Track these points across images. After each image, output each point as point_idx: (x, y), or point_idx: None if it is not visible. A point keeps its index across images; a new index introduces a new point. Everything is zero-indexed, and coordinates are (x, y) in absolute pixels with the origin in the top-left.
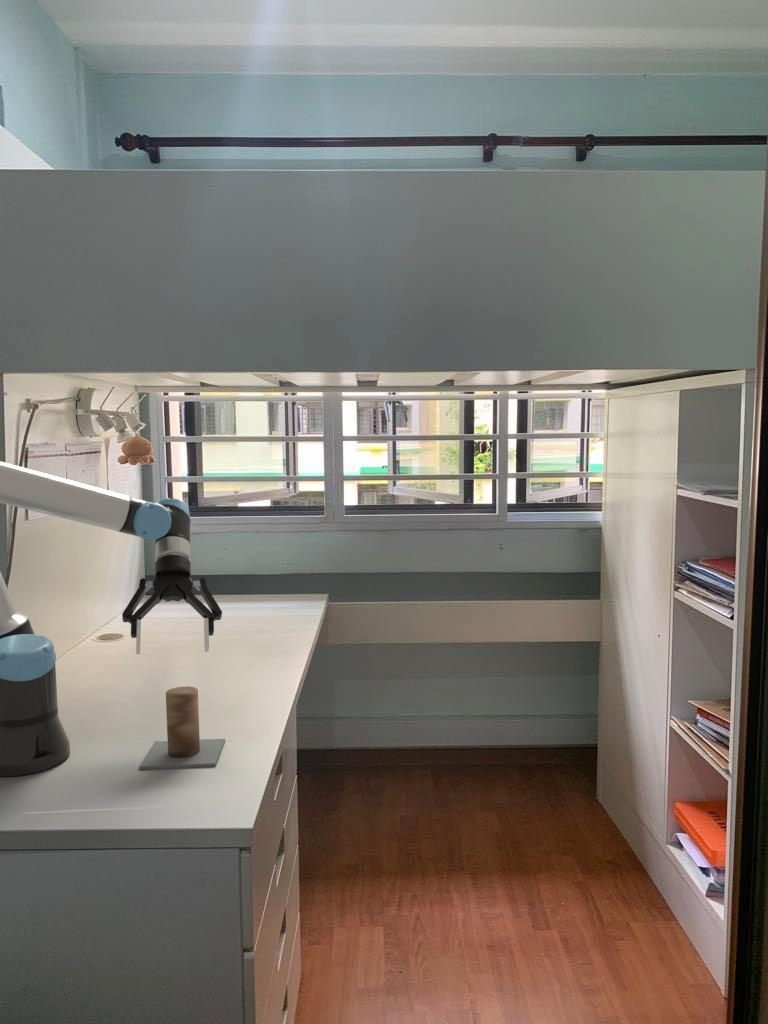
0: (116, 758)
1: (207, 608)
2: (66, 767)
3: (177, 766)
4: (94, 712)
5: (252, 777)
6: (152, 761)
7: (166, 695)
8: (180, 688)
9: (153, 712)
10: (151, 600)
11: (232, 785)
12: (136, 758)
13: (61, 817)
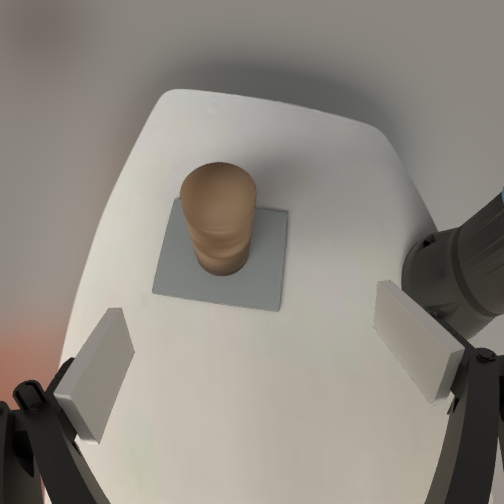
0: (332, 269)
1: (31, 444)
2: (391, 253)
3: None
4: (404, 484)
5: (135, 166)
6: (270, 225)
7: (253, 182)
8: (221, 212)
9: (301, 483)
10: (471, 472)
11: (161, 152)
12: (300, 262)
13: (343, 132)
